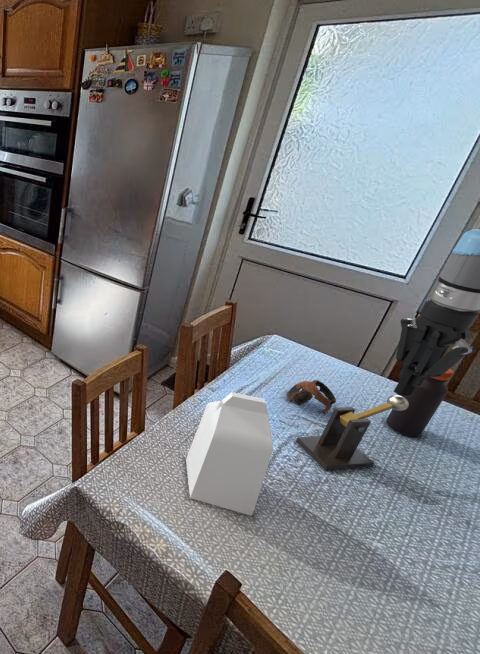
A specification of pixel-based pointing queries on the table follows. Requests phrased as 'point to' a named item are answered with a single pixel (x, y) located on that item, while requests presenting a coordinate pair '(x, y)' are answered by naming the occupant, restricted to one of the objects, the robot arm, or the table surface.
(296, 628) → the table surface
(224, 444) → the milk
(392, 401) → the tap lever
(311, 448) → the dark grey lever stand
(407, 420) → the bottle
